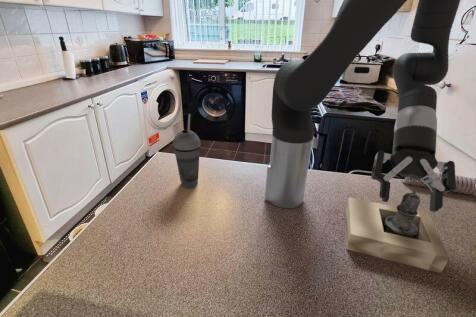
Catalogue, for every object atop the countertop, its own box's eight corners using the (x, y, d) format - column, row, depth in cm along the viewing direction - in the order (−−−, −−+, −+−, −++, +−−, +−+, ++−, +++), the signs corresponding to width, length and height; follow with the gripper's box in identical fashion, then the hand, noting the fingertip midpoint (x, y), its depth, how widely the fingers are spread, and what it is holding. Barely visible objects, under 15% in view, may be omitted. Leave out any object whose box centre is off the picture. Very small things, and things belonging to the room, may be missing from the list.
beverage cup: (181, 175, 76) (175, 108, 67) (205, 178, 75) (203, 110, 66) (172, 189, 69) (164, 117, 60) (198, 192, 68) (194, 119, 59)
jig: (346, 249, 52) (350, 233, 50) (345, 210, 63) (348, 197, 61) (440, 273, 47) (449, 257, 45) (421, 227, 58) (428, 213, 56)
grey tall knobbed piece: (416, 250, 52) (439, 201, 47) (385, 245, 53) (403, 197, 48) (406, 230, 57) (425, 184, 52) (377, 226, 58) (393, 180, 53)
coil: (408, 173, 72) (486, 185, 67) (405, 164, 76) (479, 175, 71) (402, 186, 74) (477, 199, 70) (399, 177, 78) (470, 188, 73)
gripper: (383, 119, 54) (374, 194, 50) (464, 129, 50) (463, 211, 46) (373, 134, 61) (365, 201, 57) (444, 144, 57) (441, 217, 53)
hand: (409, 205), depth 51 cm, fingers open, 8 cm apart
